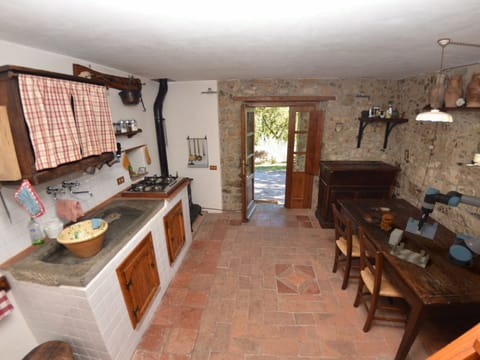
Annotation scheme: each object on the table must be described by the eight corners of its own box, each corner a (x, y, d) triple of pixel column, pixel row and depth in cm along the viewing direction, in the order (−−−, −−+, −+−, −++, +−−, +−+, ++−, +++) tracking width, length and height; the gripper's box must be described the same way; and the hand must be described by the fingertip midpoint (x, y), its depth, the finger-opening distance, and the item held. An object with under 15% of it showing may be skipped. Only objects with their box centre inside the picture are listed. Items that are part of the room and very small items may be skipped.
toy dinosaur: (385, 232, 212) (389, 216, 207) (376, 227, 222) (379, 211, 217) (394, 231, 215) (398, 215, 210) (384, 226, 225) (388, 210, 220)
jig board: (428, 259, 175) (430, 252, 173) (424, 268, 165) (426, 261, 163) (395, 246, 191) (397, 240, 190) (389, 253, 181) (391, 247, 180)
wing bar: (400, 240, 201) (403, 230, 198) (396, 246, 192) (398, 236, 189) (393, 237, 205) (395, 228, 202) (388, 243, 196) (391, 233, 193)
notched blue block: (433, 235, 175) (438, 221, 171) (432, 239, 170) (438, 224, 166) (406, 227, 187) (410, 214, 182) (405, 230, 182) (409, 216, 178)
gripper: (425, 202, 179) (417, 226, 187) (418, 208, 167) (410, 234, 175) (437, 205, 174) (428, 230, 181) (430, 212, 162) (421, 238, 169)
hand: (419, 231), depth 178 cm, fingers closed on notched blue block, 7 cm apart
